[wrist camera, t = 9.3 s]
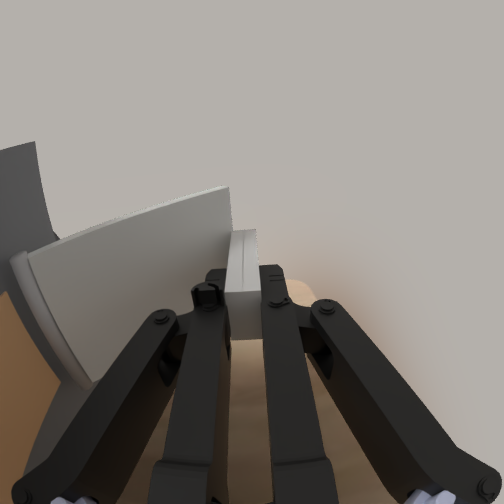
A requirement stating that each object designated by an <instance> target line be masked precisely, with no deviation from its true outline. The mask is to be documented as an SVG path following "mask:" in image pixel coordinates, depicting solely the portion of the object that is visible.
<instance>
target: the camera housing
mask: <svg viewBox="0 0 504 504" xmlns="http://www.w3.org/2000/svg"><path fill="white" fill-rule="evenodd" d="M58 240H60V238H59V237H58V236H57V235H56V234H55V233H54V231H53V229H52V226H51V222H50V218H49V215H48V211H47V207H46V203H45V198H44V193H43V188H42V183H41V178H40V173H39V167H38V160H37V153H36V146H35V141H34V142H30V143H25V144H22V145H17V146H14V147H10V148H6V149H3V150H0V504H14V503H13V501H12V497H11V490H12V486H13V485H14V484H15V482H16V481H18V480H19V479H21V478H22V477H23V476H25V475H26V474H27V473H29V472H30V471H31V470H33V469H34V468H35V467H37V466H38V465H40V464H41V463H42V462H43V461H45V460H46V459H47V458H48V457H49V456H50V454H51V452H52V451H53V449H54V448H55V446H56V445H57V443H58V441H59V440H60V438H61V437H62V435H63V434H64V432H65V431H66V429H67V428H68V426H69V425H70V423H71V422H72V420H73V419H74V417H75V416H76V414H77V413H78V411H79V410H80V408H81V407H82V406H83V404H84V403H85V401H86V400H87V398H88V397H89V396H90V394H91V393H92V391H93V390H94V388H95V387H96V386H97V384H98V383H99V381H100V380H101V379H102V378H101V379H99V380H97V381H95V382H93V385H92V387H91V388H90V389H89V390H86V391H83V390H81V389H80V388H79V387H78V385H77V384H76V383H75V381H74V380H73V378H72V377H71V376H70V374H69V373H68V371H67V370H66V369H65V367H64V366H63V364H62V363H61V361H60V360H59V358H58V356H57V355H56V353H55V352H54V350H53V349H52V347H51V345H50V344H49V342H48V340H47V339H46V337H45V335H44V333H43V332H42V330H41V328H40V326H39V325H38V323H37V321H36V319H35V317H34V315H33V313H32V311H31V309H30V307H29V305H28V303H27V301H26V299H25V297H24V295H23V293H22V290H21V288H20V286H19V283H18V281H17V279H16V276H15V274H14V271H13V269H12V266H11V264H10V261H9V259H10V258H11V257H12V256H13V255H15V254H16V253H18V252H21V251H27V254H28V253H30V252H33V251H35V250H37V249H39V248H42V247H44V246H46V245H49V244H51V243H53V242H56V241H58Z"/></svg>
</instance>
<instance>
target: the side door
mask: <svg viewBox="0 0 504 504" xmlns="http://www.w3.org/2000/svg"><path fill="white" fill-rule="evenodd" d="M232 231H233V228H232V218H231V206H230V194H229V187H225V186H219V187H215V188H212V189H208V190H204V191H201V192H198V193H193V194H191V195H187V196H183V197H180V198H176V199H173V200H170V201H167V202H163V203H160V204H157V205H154V206H151V207H148V208H145V209H142V210H139V211H136V212H133V213H130V214H127V215H124V216H121V217H118V218H115V219H113V220H110V221H107V222H104V223H102V224H99V225H97V226H93V227H91V228H88V229H86V230H83V231H80V232H78V233H75V234H73V235H70V236H68V237H66V238H63V239H60V240H58V241H56V242H53V243H51V244H49V245H46V246H44V247H42V248H39V249H37V250H35V251H33V252H30V253H28V254H27V251H21V252H18V253H16V254H15V255H13V256H12V257H11V258H10V259H9V261H10V264H11V266H12V269H13V271H14V274H15V276H16V279H17V281H18V283H19V286H20V288H21V290H22V293H23V295H24V297H25V299H26V301H27V303H28V305H29V307H30V309H31V311H32V313H33V315H34V317H35V319H36V321H37V323H38V325H39V326H40V328H41V330H42V332H43V333H44V335H45V337H46V339H47V340H48V342H49V344H50V345H51V347H52V349H53V350H54V352H55V353H56V355H57V356H58V358H59V360H60V361H61V363H62V364H63V366H64V367H65V369H66V370H67V371H68V373H69V374H70V376H71V377H72V378H73V380H74V381H75V383H76V384H77V385H78V387H79V388H80V389H81V390H83V391H86V390H89V389H90V388H91V387H92V385H93V382H95V381H97V380H99V379H101V378H102V377H103V376H104V374H105V373H106V372H107V370H108V369H109V368H110V366H111V365H112V363H113V362H114V361H115V359H116V358H117V357H118V355H119V354H120V353H121V351H122V350H123V349H124V347H125V346H126V345H127V343H128V342H129V341H130V339H131V338H132V337H133V335H134V334H135V333H136V331H137V330H138V329H139V328H140V326H141V325H142V324H143V322H144V321H145V320H146V319H147V317H148V316H149V315H150V314H151V313H152V312H154V311H156V310H160V309H170V310H173V311H174V312H175V313H176V316H178V315H182V314H186V313H189V312H191V311H193V309H194V304H193V300H192V295H191V289H192V288H193V287H194V286H195V285H197V284H200V283H202V282H205V278H206V274H207V273H208V272H209V271H210V270H211V269H222V268H227V266H228V257H229V249H230V241H231V233H232Z"/></svg>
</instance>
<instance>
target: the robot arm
mask: <svg viewBox="0 0 504 504" xmlns="http://www.w3.org/2000/svg"><path fill="white" fill-rule="evenodd" d="M191 295H192V300H193V304H194V309H193V311H191V312H189V313H186V314H182V315H178V316H176V313H175V312H174V311H173V310H170V309H160V310H156V311H154V312H152V313H151V314H150V315H149V316H148V317H147V319H146V320H145V321H144V322H143V324H142V325H141V326H140V328H139V329H138V330H137V331H136V333H135V334H134V335H133V337H132V338H131V339H130V341H129V342H128V343H127V345H126V346H125V347H124V349H123V350H122V351H121V353H120V354H119V355H118V357H117V358H116V359H115V361H114V362H113V363H112V365H111V366H110V368H109V369H108V370H107V372H106V373H105V374H104V376H103V377H102V379H101V380H100V381H99V383H98V384H97V386H96V387H95V388H94V390H93V391H92V393H91V394H90V396H89V397H88V398H87V400H86V401H85V403H84V404H83V406H82V407H81V408H80V410H79V411H78V413H77V414H76V416H75V417H74V419H73V420H72V422H71V423H70V425H69V426H68V428H67V429H66V431H65V432H64V434H63V435H62V437H61V438H60V440H59V441H58V443H57V445H56V446H55V448H54V449H53V451H52V452H51V454H50V456H49V457H48V458H47V459H46V460H45V461H43V462H42V463H41V464H40V465H38V466H37V467H35V468H34V469H33V470H31V471H30V472H29V473H27V474H26V475H25V476H23V477H22V478H21V479H19V480H18V481H16V482H15V484H14V485H13V486H12V490H11V497H12V501H13V503H14V504H115V503H116V502H117V500H118V499H119V497H120V495H121V494H122V492H123V490H124V488H125V486H126V484H127V482H128V480H129V478H130V476H131V474H132V472H133V470H134V468H135V466H136V464H137V462H138V460H139V458H140V457H141V455H142V453H143V451H144V449H145V447H146V445H147V443H148V441H149V439H150V437H151V435H152V433H153V431H154V429H155V427H156V425H157V423H158V421H159V419H160V417H161V415H162V413H163V411H164V409H165V407H166V406H167V404H168V402H169V400H170V398H171V396H172V394H173V392H174V390H175V394H174V399H173V404H172V410H171V415H170V420H169V426H168V431H167V437H166V442H165V448H164V454H163V457H162V459H161V460H159V461H157V462H156V463H155V465H154V467H153V471H152V476H151V482H150V488H149V495H148V502H147V504H229V495H228V488H227V455H228V423H229V396H230V371H231V342H230V337H231V340H252V339H263V356H264V368H265V382H266V397H267V411H268V426H269V441H270V456H271V472H272V490H273V502H271V503H267V504H339V501H338V495H337V490H336V484H335V479H334V473H333V469H332V464H331V462H330V460H329V459H328V458H327V457H326V455H325V451H324V447H323V441H322V436H321V431H320V426H319V421H318V416H317V411H316V406H315V401H314V396H313V391H312V386H311V382H310V377H309V372H308V368H307V363H306V358H305V354H304V353H307V356H308V358H309V360H310V361H311V363H312V365H313V367H314V368H315V370H316V372H317V373H318V375H319V377H320V379H321V380H322V382H323V384H324V385H325V387H326V389H327V390H328V392H329V394H330V396H331V397H332V399H333V401H334V402H335V404H336V406H337V408H338V409H339V411H340V413H341V414H342V416H343V418H344V419H345V421H346V423H347V424H348V426H349V428H350V430H351V431H352V433H353V435H354V436H355V438H356V440H357V441H358V443H359V445H360V446H361V448H362V450H363V452H364V453H365V455H366V457H367V458H368V460H369V462H370V463H371V465H372V467H373V468H374V470H375V472H376V473H377V475H378V477H379V478H380V480H381V482H382V483H383V485H384V486H385V488H386V489H387V491H388V492H389V494H390V495H391V496H392V497H393V498H394V499H395V500H396V501H397V502H398V503H399V504H490V503H492V502H493V501H495V499H496V498H497V496H498V495H499V493H500V490H501V486H502V479H501V476H500V473H499V472H497V471H496V470H495V469H494V468H492V467H490V466H488V465H486V464H485V463H483V462H481V461H480V460H478V459H476V458H474V457H473V456H471V455H469V454H467V453H466V452H464V451H463V450H461V449H459V448H458V447H457V446H456V445H455V444H454V442H453V441H452V440H451V438H450V437H449V436H448V434H447V433H446V432H445V431H444V429H443V428H442V427H441V425H440V424H439V423H438V421H437V420H436V419H435V418H434V416H433V415H432V414H431V413H430V411H429V410H428V409H427V407H426V406H425V405H424V404H423V402H422V401H421V400H420V399H419V397H418V396H417V395H416V394H415V392H414V391H413V390H412V389H411V387H410V386H409V385H408V384H407V382H406V381H405V380H404V379H403V378H402V377H401V375H400V374H399V373H398V372H397V370H396V369H395V368H394V367H393V365H392V364H391V363H390V362H389V361H388V359H387V358H386V357H385V356H384V355H383V353H382V352H381V351H380V350H379V349H378V347H377V346H376V345H375V344H374V343H373V342H372V340H371V339H370V338H369V337H368V336H367V335H366V333H365V332H364V331H363V330H362V329H361V328H360V326H359V325H358V324H357V323H356V322H355V321H354V320H353V318H352V317H351V316H350V315H349V314H348V313H347V311H346V310H345V309H344V308H343V307H342V306H341V305H340V304H339V303H338V302H336V301H333V300H330V299H322V300H318V301H315V302H314V303H313V304H312V305H311V307H304V306H300V305H297V304H295V303H293V302H292V300H291V298H290V297H289V295H288V291H287V287H286V282H285V278H284V274H283V269H282V268H281V267H280V266H279V265H277V264H276V265H262V266H259V263H258V251H257V240H256V230H255V229H252V230H237V231H232V233H231V241H230V249H229V257H228V266H227V268H222V269H211V270H210V271H209V272H208V273H207V274H206V278H205V282H202V283H200V284H197V285H195V286H194V287H193V288H192V289H191ZM175 388H176V389H175Z"/></svg>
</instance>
